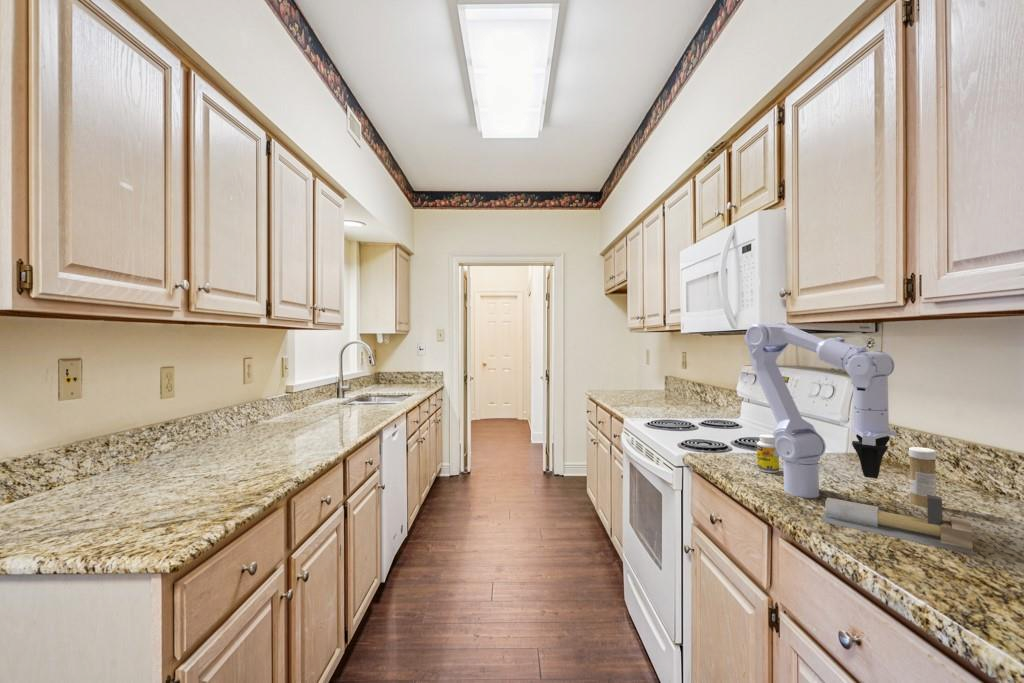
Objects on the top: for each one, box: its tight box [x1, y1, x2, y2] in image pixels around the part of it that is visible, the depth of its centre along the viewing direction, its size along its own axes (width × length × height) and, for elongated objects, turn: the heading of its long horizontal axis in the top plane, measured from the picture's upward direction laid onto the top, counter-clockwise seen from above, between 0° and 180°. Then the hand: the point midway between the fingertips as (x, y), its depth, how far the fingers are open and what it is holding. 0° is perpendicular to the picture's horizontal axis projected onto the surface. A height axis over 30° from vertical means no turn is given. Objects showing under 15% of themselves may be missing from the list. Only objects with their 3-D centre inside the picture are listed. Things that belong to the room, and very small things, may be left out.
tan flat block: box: [877, 495, 952, 536], centre depth 85 cm, size 2×12×7 cm, turn 47°
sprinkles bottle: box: [908, 446, 937, 508], centre depth 98 cm, size 5×5×14 cm
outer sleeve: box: [824, 497, 879, 528], centre depth 91 cm, size 3×8×3 cm, turn 48°
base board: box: [820, 509, 975, 555], centre depth 87 cm, size 10×22×1 cm, turn 48°
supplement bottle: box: [756, 434, 780, 474], centre depth 128 cm, size 6×6×10 cm
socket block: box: [940, 516, 974, 549], centre depth 81 cm, size 5×4×4 cm
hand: (871, 472), depth 92 cm, fingers open, 7 cm apart
